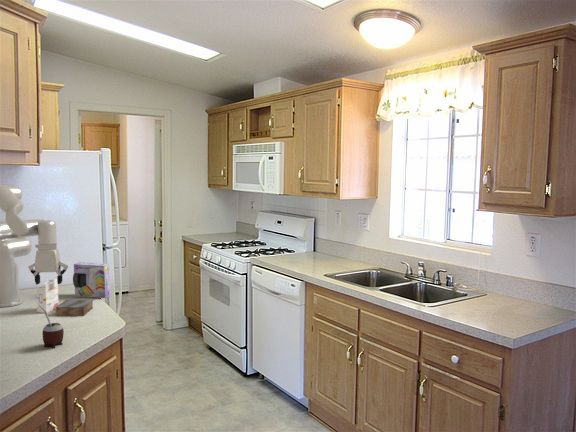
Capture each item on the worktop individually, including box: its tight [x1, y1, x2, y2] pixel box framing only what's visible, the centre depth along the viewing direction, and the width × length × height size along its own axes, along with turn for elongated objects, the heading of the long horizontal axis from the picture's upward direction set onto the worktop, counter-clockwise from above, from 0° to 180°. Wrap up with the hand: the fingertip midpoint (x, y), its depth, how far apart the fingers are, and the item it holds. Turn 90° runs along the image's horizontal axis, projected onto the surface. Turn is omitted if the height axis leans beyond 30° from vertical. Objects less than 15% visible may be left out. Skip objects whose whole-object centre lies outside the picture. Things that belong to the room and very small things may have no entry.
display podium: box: [55, 299, 94, 317], centre depth 219 cm, size 12×12×4 cm
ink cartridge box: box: [36, 277, 59, 314], centre depth 219 cm, size 9×5×15 cm, turn 168°
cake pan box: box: [72, 261, 111, 299], centre depth 245 cm, size 19×5×18 cm, turn 77°
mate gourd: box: [39, 306, 65, 349], centre depth 176 cm, size 8×8×15 cm
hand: (48, 283), depth 219 cm, fingers open, 9 cm apart
